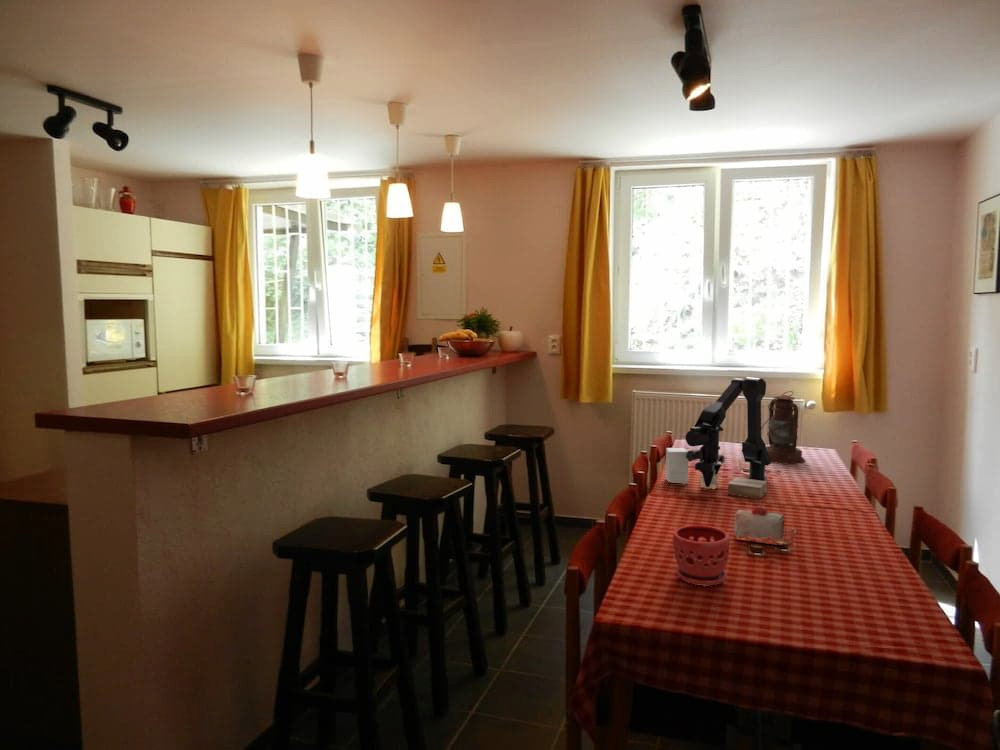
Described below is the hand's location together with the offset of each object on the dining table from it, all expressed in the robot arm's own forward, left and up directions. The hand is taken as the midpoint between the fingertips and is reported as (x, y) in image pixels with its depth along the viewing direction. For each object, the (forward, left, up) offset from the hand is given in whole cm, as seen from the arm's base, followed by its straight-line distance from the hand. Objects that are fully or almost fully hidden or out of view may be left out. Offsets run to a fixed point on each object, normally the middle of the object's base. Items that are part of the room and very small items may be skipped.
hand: (709, 485), depth 254 cm
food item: (+50, +27, -1) cm, 57 cm away
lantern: (-66, +14, -1) cm, 67 cm away
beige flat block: (0, +13, -1) cm, 14 cm away
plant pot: (+88, +21, -1) cm, 90 cm away
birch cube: (0, 0, -1) cm, 1 cm away
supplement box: (-2, -13, -1) cm, 13 cm away
